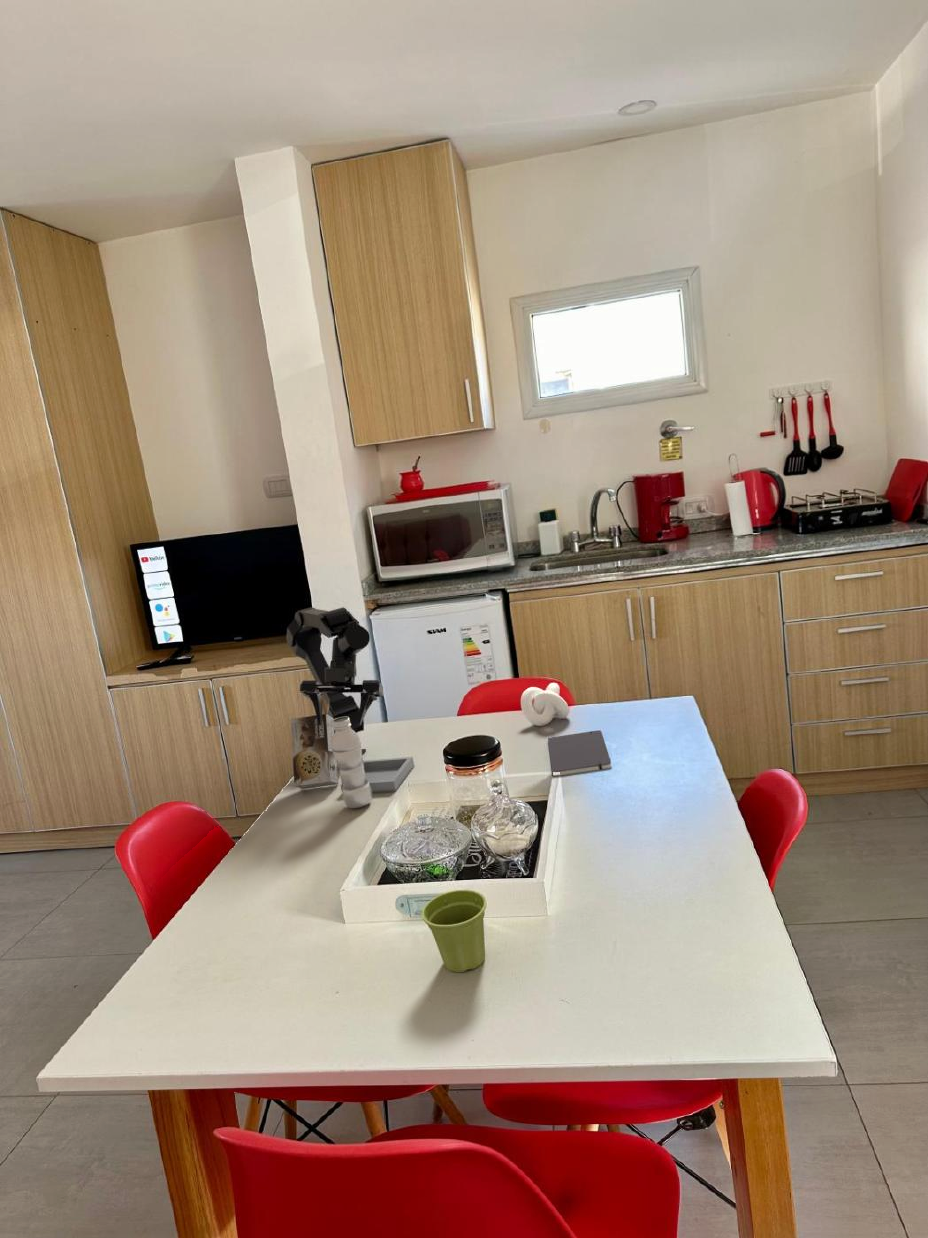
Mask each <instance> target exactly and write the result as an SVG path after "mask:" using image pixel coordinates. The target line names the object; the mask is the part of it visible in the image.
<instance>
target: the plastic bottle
mask: <svg viewBox="0 0 928 1238" xmlns="http://www.w3.org/2000/svg"><path fill="white" fill-rule="evenodd" d="M333 726H334V727H333V728H334V730H335V734H334V736H333V739H332V741H331V747H332V750H333V753H334V756H335V758H336V761H337V769H339V773H340V781H341V784H342V790H341V793H342V800H343V802H344V805H345V806H346V807H348V808H349V809H360V808H363V807H365V806H367V805H368V804H370V803H371V802H372V799H373V793H372V789H371V786H370V784H369V782H368V780H367V776H366V773H365V770H364V766H363V761H364V760H363V755H362V752H361V749H362V741H361V738H360V736H359V734H358V732H357V733H356V732H355V731H354V730H352V729H351V728H350V727H351V723H350V719H349V717H347V716H344V717H339V718H336V719H334V720H333Z"/></svg>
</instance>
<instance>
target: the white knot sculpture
mask: <svg viewBox="0 0 928 1238" xmlns="http://www.w3.org/2000/svg"><path fill="white" fill-rule="evenodd" d="M520 708H521V710H522V713H523V715H524V717H525V718H526V720H527V721H528V722H529V723H531V724H533V725H534V726H537V727H538V726H539V727H542V726H546V725H548V724H549V723H551V721H552V720H553V719H554V717H555V718H556V719H560V720H563V719H567V717H568V716H570V715H569V714H570V708H569V705H568V703H567V702H566V700H564V698H563V697H562V696H560V686H559V684H558V683H557V682H556V683H555V682H550V683H549V684H548V685H547V687H546V689H545V690H543V689H542V688H539V687H536V686H531V687H528V688H527V689H525V690H524V691H523V692H522V694H521V697H520Z"/></svg>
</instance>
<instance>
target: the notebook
mask: <svg viewBox="0 0 928 1238" xmlns="http://www.w3.org/2000/svg"><path fill="white" fill-rule="evenodd" d="M547 742H548V750H549V756H550V758H549V759H550V765H551V771H552V772H560V774H561V775H560V776H564V775H571V774H578V773H583V772H585V773H586V772H591V771H596V770H600V771H601V770H604V769H610V768H611V767H612V764H611V763H612V761H611V757H610V754H609V751H608V748H607V746H606V741H605V739H604V736H603V733H602V730H600V729H599V730H597V729H596V730H589V731H585V732H578V733H572V734H566V735H558V736H553V737H547ZM552 772H551V773H552Z"/></svg>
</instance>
